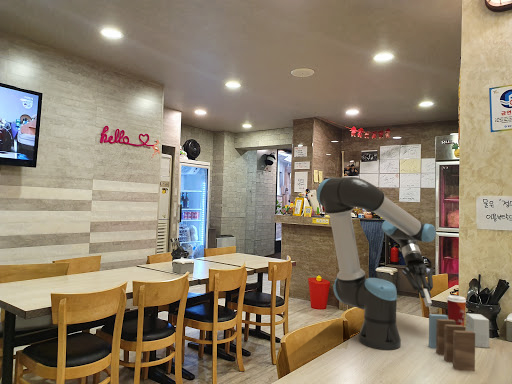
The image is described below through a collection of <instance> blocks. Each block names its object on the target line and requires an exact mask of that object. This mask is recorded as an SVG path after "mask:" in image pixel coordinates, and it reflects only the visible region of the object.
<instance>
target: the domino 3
mask: <svg viewBox="0 0 512 384" xmlns="http://www.w3.org/2000/svg"><path fill="white" fill-rule="evenodd" d="M475 367H476V347H475V333H474V332H472V331H466V330H465V331H456V330H453V362H452V368H453V369H454V370H456V371H471V372H473V371H474V372H475V370H476V369H475Z"/></svg>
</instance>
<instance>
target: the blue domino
mask: <svg viewBox="0 0 512 384" xmlns="http://www.w3.org/2000/svg"><path fill="white" fill-rule="evenodd" d="M437 319H447V320H448V315H446V314H437V313H435V314H434V313H429V314H428V348H430V349H436V322H437Z"/></svg>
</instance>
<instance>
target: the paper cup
mask: <svg viewBox="0 0 512 384" xmlns="http://www.w3.org/2000/svg"><path fill="white" fill-rule="evenodd" d="M466 301H467V299H466V297H464V296H460V295H455V294H454V295H453V294H451V295H448V296H447V298H446V302H447V316H448V320H455V321H456V325H463V326H464V327H465V320H466V305H467V302H466Z"/></svg>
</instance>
